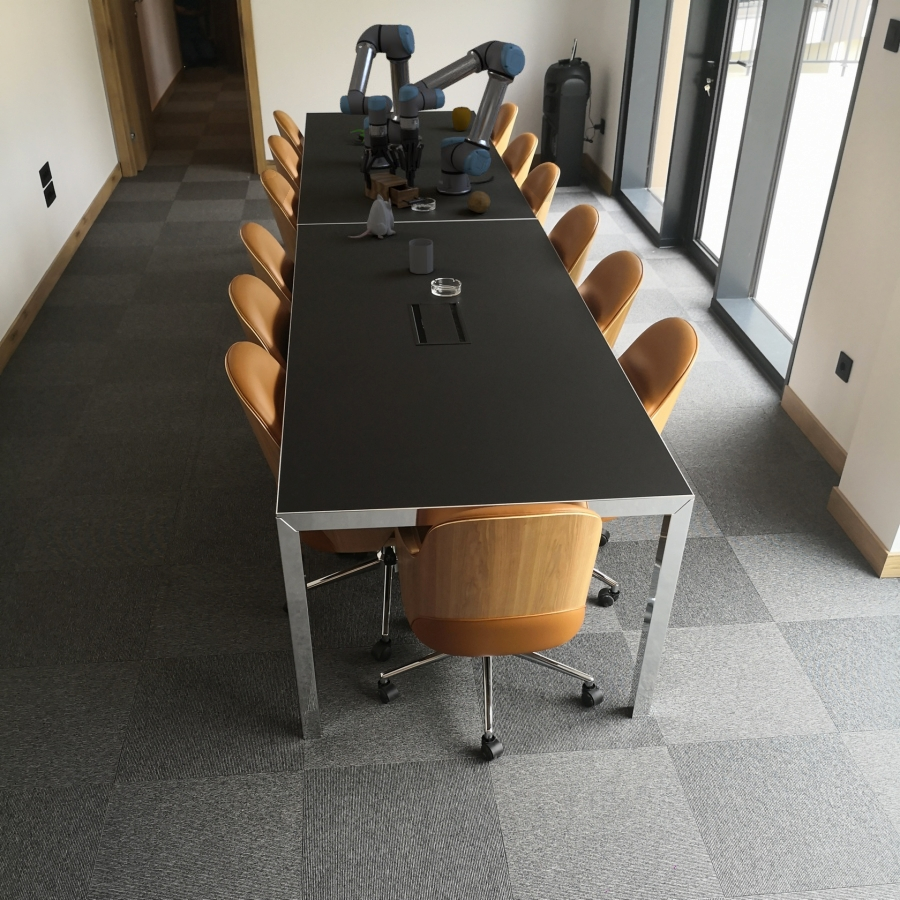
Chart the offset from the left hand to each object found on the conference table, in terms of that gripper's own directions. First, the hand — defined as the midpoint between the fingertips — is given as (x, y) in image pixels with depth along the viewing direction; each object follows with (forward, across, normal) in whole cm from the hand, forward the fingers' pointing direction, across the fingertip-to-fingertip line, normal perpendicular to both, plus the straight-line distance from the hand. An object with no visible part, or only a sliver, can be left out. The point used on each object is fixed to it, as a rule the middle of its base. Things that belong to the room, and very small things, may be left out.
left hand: (380, 186), depth 382 cm
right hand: (-5, 0, -24) cm, 25 cm away
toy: (+4, -33, -46) cm, 57 cm away
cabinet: (+4, 0, -5) cm, 7 cm away
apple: (+4, +104, +81) cm, 132 cm away
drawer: (+3, 0, -17) cm, 17 cm away
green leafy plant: (+4, +50, +85) cm, 99 cm away
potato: (+4, +21, -44) cm, 49 cm away
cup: (+4, -36, -85) cm, 93 cm away
